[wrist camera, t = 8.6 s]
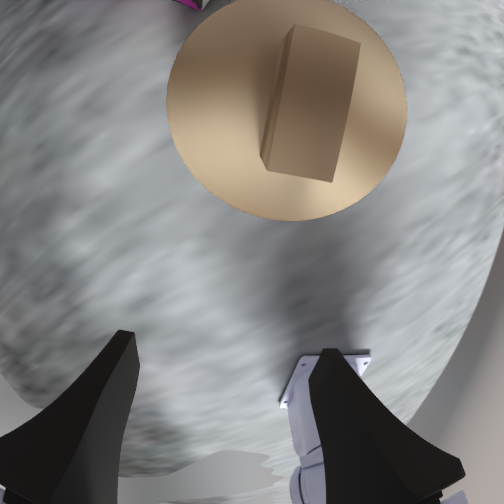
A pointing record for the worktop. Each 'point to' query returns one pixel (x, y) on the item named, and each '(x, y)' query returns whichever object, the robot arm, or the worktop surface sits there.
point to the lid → (286, 107)
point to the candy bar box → (194, 3)
